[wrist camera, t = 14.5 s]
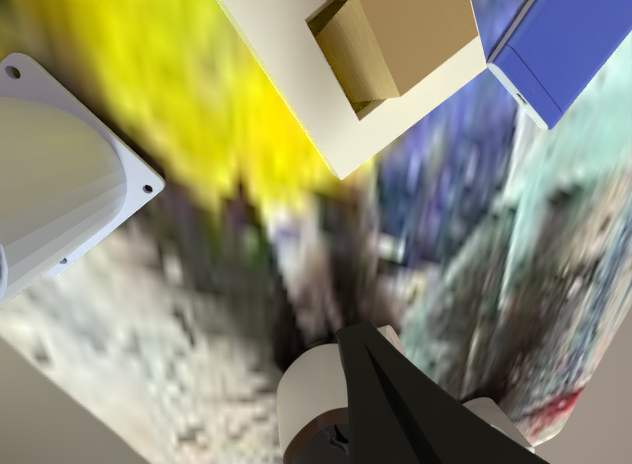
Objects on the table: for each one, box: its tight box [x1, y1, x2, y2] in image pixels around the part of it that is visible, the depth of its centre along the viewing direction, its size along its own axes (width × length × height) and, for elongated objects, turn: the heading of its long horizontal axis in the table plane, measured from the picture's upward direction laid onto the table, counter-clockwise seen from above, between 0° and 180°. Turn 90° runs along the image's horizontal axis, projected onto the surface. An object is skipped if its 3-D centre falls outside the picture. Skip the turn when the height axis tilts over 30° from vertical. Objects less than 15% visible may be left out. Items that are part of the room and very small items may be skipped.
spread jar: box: [276, 325, 407, 464], centre depth 21 cm, size 12×11×12 cm
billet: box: [316, 0, 478, 103], centre depth 12 cm, size 4×4×6 cm
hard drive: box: [486, 0, 632, 130], centre depth 17 cm, size 2×8×12 cm
